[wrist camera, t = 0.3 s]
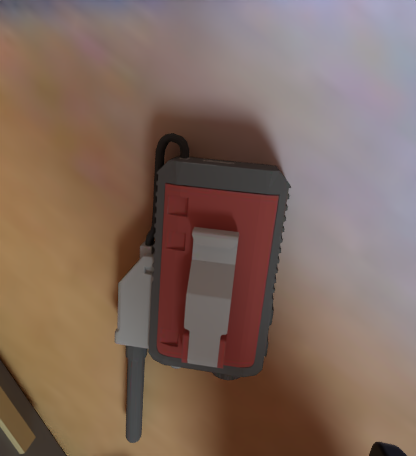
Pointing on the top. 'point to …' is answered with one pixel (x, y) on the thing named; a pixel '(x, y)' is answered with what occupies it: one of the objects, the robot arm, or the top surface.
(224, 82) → the top surface
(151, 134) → the top surface
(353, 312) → the top surface
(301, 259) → the top surface
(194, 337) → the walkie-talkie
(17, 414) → the grey u-shaped bracket
